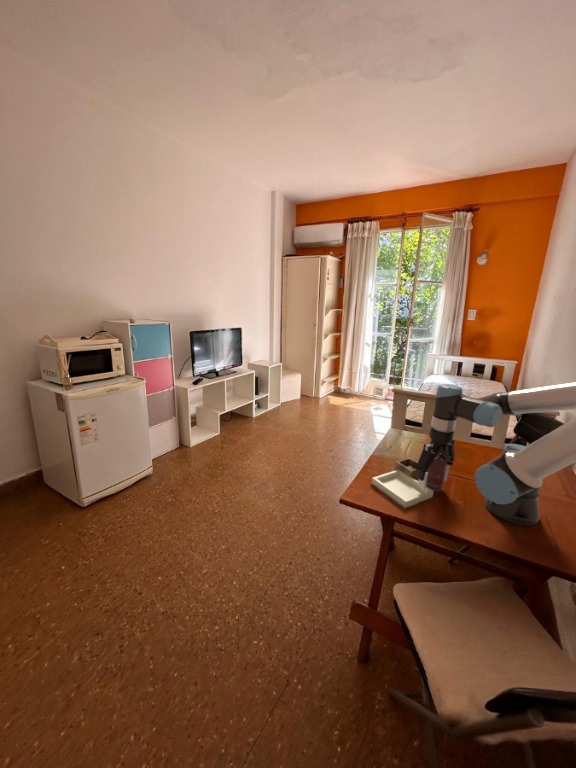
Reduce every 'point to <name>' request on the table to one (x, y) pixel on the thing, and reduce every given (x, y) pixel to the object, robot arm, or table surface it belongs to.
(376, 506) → the table surface
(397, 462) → the square wooden box
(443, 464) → the can
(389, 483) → the tray
